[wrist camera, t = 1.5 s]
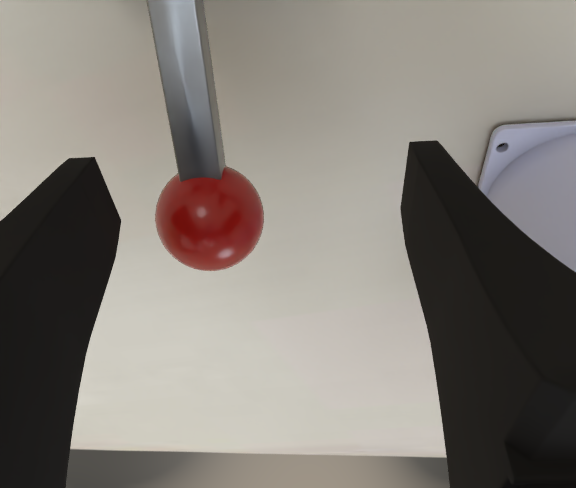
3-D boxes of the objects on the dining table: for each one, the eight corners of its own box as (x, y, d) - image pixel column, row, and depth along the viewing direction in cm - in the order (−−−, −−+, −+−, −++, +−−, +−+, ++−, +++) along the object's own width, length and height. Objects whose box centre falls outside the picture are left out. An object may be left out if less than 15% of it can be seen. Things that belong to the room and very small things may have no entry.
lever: (271, 236, 17) (265, 289, 14) (177, 240, 17) (155, 294, 14) (222, -270, 11) (195, -340, 8) (80, -255, 11) (10, -319, 8)
